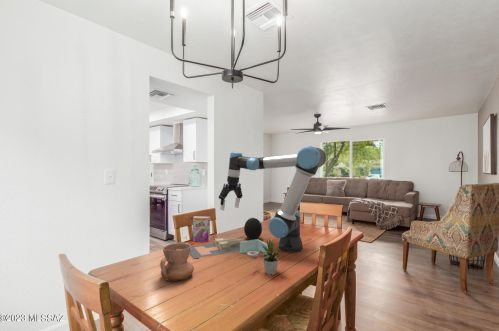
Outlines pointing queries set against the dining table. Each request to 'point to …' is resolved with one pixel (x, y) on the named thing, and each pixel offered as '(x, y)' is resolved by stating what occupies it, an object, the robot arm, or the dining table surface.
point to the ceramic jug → (176, 262)
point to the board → (209, 250)
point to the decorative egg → (253, 228)
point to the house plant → (270, 257)
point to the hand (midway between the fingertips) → (229, 208)
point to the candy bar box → (201, 229)
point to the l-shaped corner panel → (252, 247)
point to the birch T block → (226, 243)
